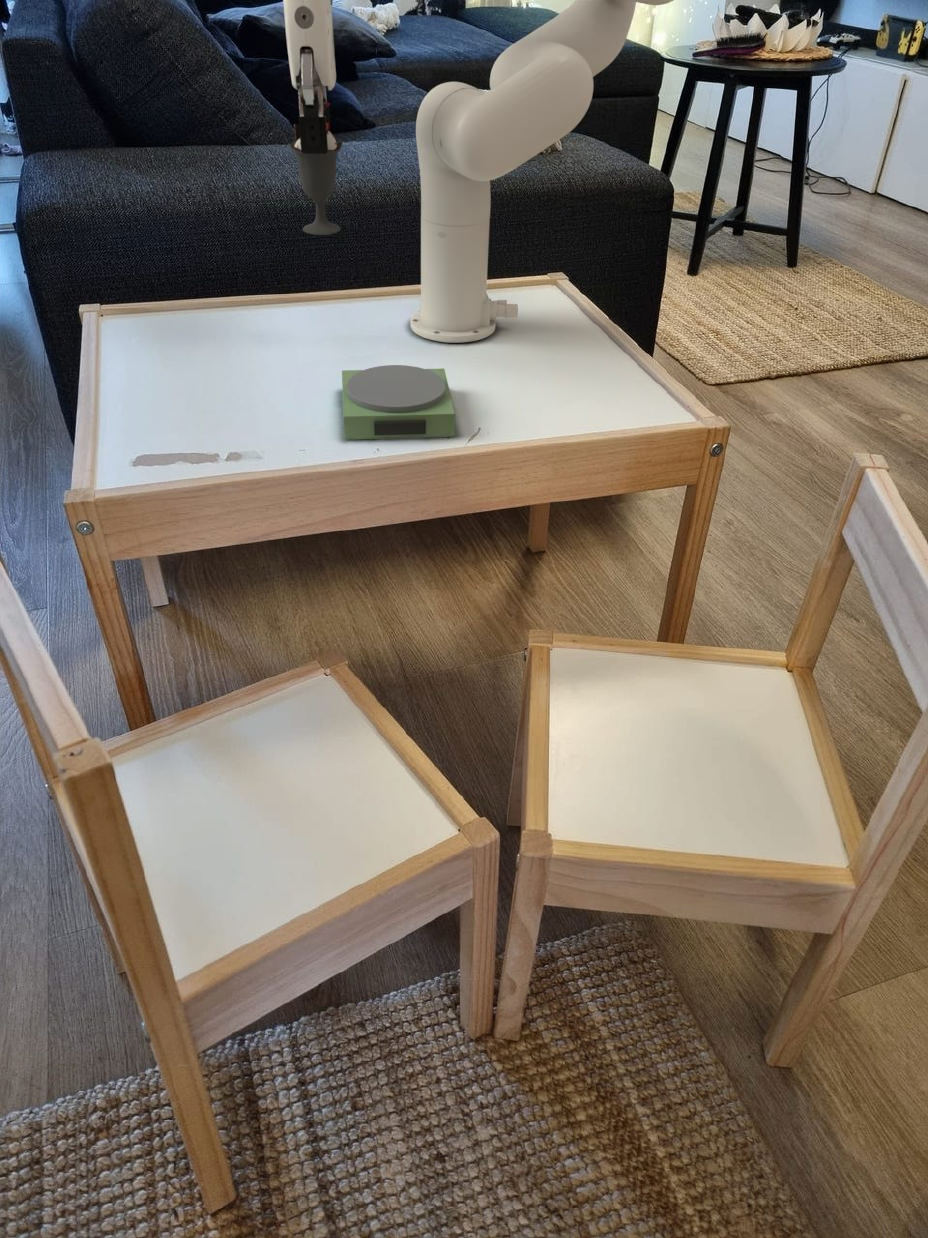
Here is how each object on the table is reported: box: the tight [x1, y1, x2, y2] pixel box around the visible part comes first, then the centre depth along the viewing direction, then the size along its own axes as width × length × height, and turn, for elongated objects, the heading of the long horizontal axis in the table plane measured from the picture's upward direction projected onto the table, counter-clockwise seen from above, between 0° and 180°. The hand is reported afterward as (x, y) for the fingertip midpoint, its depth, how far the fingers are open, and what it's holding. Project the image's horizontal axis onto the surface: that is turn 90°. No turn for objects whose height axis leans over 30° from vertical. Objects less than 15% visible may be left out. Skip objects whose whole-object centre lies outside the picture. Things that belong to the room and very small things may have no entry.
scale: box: [341, 364, 456, 441], centre depth 112 cm, size 13×14×4 cm
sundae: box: [288, 101, 343, 236], centre depth 116 cm, size 7×7×15 cm
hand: (316, 144), depth 115 cm, fingers closed on sundae, 6 cm apart
